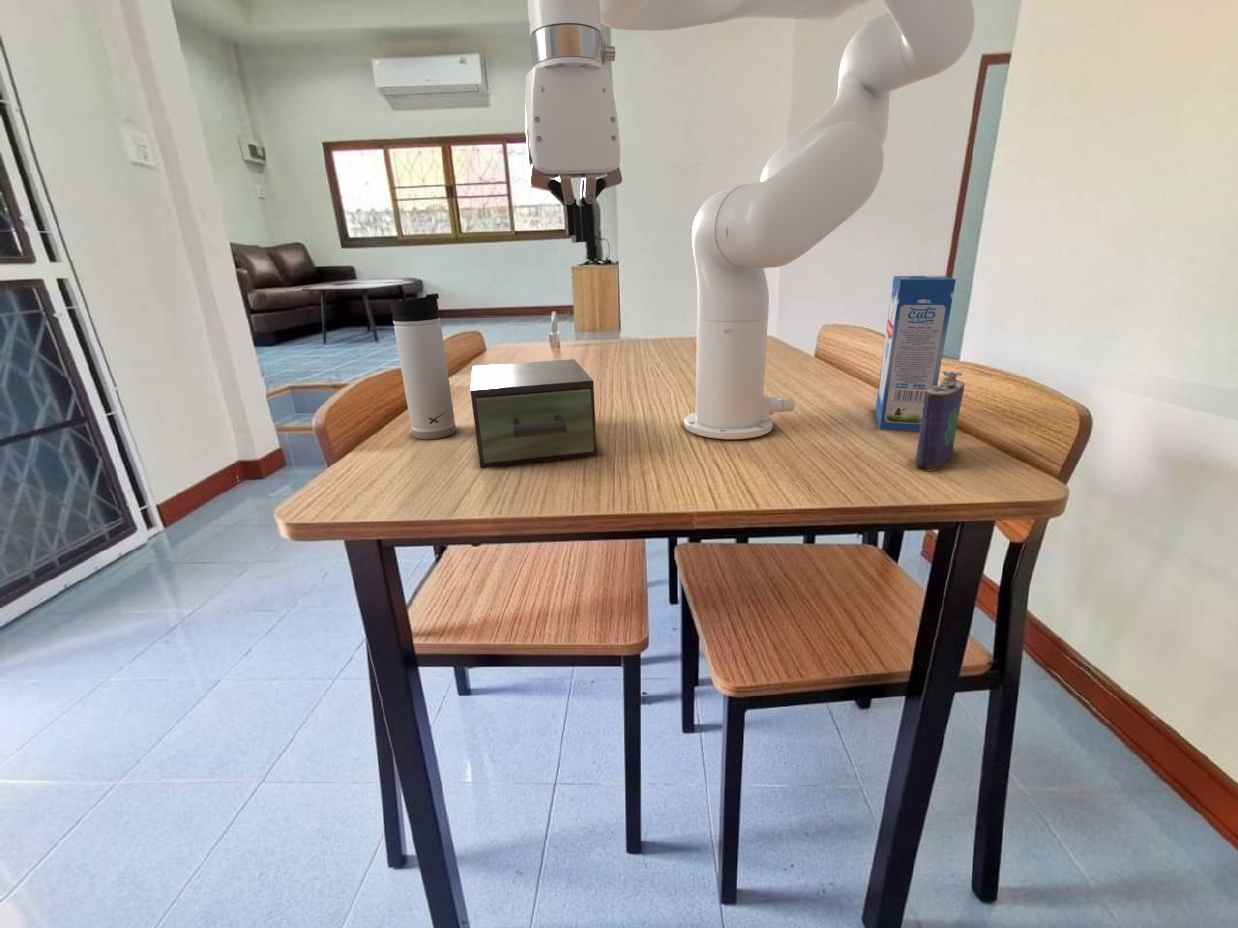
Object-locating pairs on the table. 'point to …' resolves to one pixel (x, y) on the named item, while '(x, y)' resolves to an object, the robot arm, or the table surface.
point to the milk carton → (912, 348)
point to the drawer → (535, 424)
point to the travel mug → (424, 366)
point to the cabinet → (528, 391)
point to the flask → (939, 423)
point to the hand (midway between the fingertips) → (580, 241)
